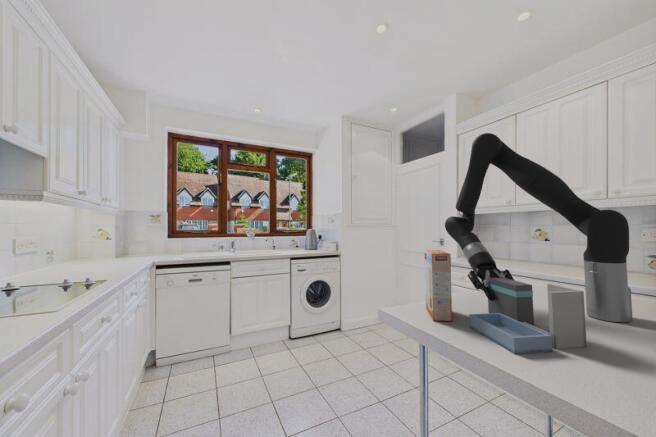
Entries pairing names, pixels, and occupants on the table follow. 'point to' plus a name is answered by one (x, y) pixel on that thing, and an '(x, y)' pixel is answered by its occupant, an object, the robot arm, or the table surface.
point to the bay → (565, 317)
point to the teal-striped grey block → (512, 299)
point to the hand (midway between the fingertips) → (504, 299)
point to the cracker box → (438, 285)
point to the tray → (511, 333)
